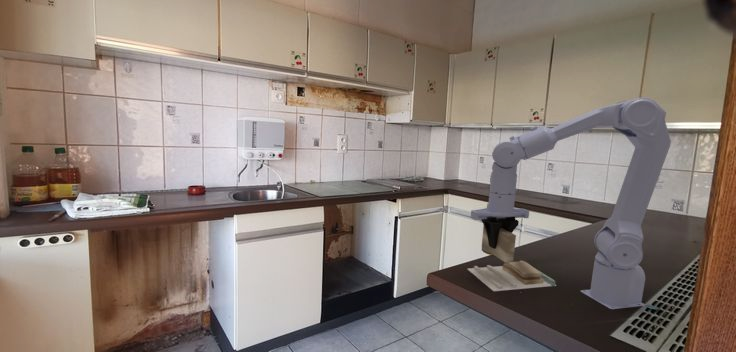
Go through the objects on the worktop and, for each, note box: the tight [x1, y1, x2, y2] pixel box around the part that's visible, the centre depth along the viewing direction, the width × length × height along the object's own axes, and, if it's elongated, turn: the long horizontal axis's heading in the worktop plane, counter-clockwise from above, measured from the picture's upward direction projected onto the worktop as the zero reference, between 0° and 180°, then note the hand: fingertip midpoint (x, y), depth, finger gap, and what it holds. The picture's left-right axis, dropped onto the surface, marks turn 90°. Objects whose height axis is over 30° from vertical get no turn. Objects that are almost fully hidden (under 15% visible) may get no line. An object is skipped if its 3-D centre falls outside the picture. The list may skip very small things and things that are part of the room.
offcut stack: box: [502, 261, 544, 285], centre depth 84 cm, size 6×9×2 cm, turn 13°
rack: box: [467, 260, 557, 292], centre depth 84 cm, size 17×12×2 cm
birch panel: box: [481, 225, 517, 263], centre depth 81 cm, size 2×10×6 cm, turn 13°
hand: (497, 246), depth 81 cm, fingers closed on birch panel, 2 cm apart
